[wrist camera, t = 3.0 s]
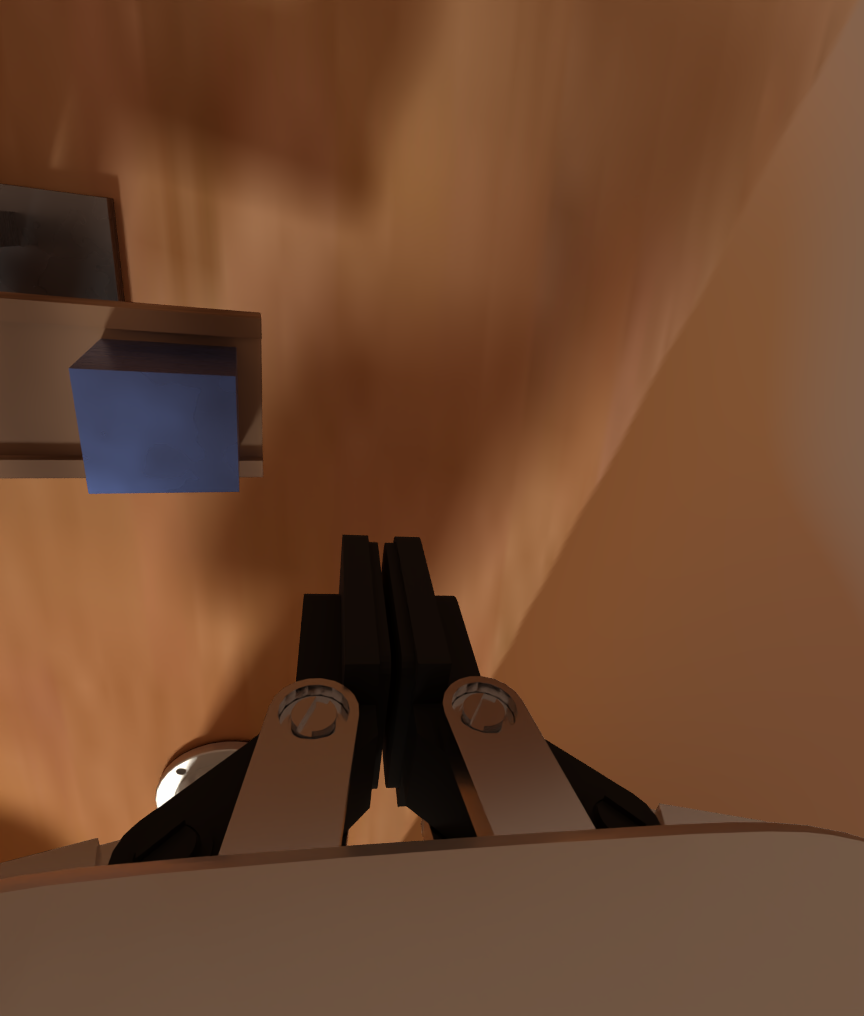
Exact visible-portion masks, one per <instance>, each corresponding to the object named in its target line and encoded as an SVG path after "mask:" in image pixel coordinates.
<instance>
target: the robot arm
mask: <svg viewBox="0 0 864 1016" xmlns="http://www.w3.org/2000/svg"><path fill="white" fill-rule="evenodd" d="M382 751H383V763H384V775H385V785H386V788H396V794H397V804H398V807H400V806H407V807H408V808H409V809H411V810H412V811H413V812H415V813H416V814H417V815H418V816H420V817H421V818H422V821H421V829H422V836H423V839H424V841H411V842H396V843H381V844H367V845H353V846H347V842H348V832H349V829H350V827H351V826H352V825H353V824H354V823H355V822H356V821H357V820H358V819H359V818H360V817H361V816H362V815H363V814H364V813H365V812H366V811H367V810H368V809H369V808H370V800H371V791H372V789H377V787H378V780H379V771H380V763H381V755H382ZM155 800H156V806H157V809H156V810H154V811H153V812H151V813H150V814H149V815H147V816H146V817H145V818H143V819H142V820H140V821H139V822H138V823H137V824H136V825H135V826H133V827H132V828H131V829H130V830H129V831H128V832H127V833H126V834H125V835H124V836H123V837H122V839H121V840H118V841H114V842H111V843H107V844H103V845H99V841H98V838H95V839H91V840H88V841H84V842H80V843H76V844H72V845H68V846H65V847H61V848H57V849H53V850H49V851H45V852H42V853H38V854H34V855H30V856H26V857H22V858H18V859H15V860H11V861H7V862H3V863H0V1016H864V838H861V837H858V836H854V835H851V834H848V833H844V832H839V831H834V830H829V829H823V828H818V827H813V826H808V825H797V824H784V823H772V822H765V821H759V820H754V819H748V818H742V817H736V816H730V815H724V814H718V813H712V812H707V811H700V810H694V809H689V808H683V807H677V806H670V805H664V804H659V805H658V807H657V809H656V810H652V809H650V808H649V807H648V806H647V804H646V803H644V802H643V801H642V800H640V799H639V798H638V797H637V796H635V795H634V794H633V793H631V792H629V791H628V790H626V789H624V788H623V787H621V786H619V785H618V784H616V783H615V782H613V781H612V780H610V779H608V778H606V777H605V776H604V775H602V774H600V773H599V772H597V771H595V770H594V769H592V768H591V767H589V766H587V765H586V764H584V763H583V762H581V761H579V760H578V759H576V758H574V757H573V756H571V755H570V754H568V753H566V752H564V751H563V750H562V749H560V748H558V747H557V746H555V745H553V744H552V743H550V742H549V741H547V740H545V739H544V737H543V736H542V734H541V732H540V730H539V729H538V727H537V725H536V723H535V722H534V720H533V718H532V716H531V715H530V713H529V711H528V709H527V708H526V706H525V704H524V702H523V701H522V699H521V698H520V697H519V695H518V694H517V693H516V692H515V691H514V690H513V689H511V688H510V687H509V686H507V685H506V684H504V683H502V682H500V681H498V680H496V679H492V678H488V677H483V676H480V673H479V670H478V666H477V663H476V660H475V657H474V653H473V650H472V647H471V644H470V641H469V637H468V634H467V631H466V628H465V624H464V621H463V618H462V615H461V611H460V608H459V605H458V602H457V599H456V597H454V596H435V595H434V591H433V587H432V583H431V579H430V575H429V571H428V567H427V563H426V559H425V555H424V551H423V547H422V543H421V540H420V538H419V537H394V541H393V543H385V544H384V552H383V562H382V572H381V567H380V558H379V550H378V543H377V542H369V541H368V536H364V535H343V537H342V551H341V568H340V585H339V594H304V599H303V610H302V621H301V632H300V644H299V655H298V666H297V677H296V682H294V683H292V684H290V685H289V686H287V687H285V688H283V689H282V690H281V691H280V692H279V693H278V694H277V695H276V696H275V697H274V699H273V700H272V702H271V704H270V706H269V708H268V711H267V714H266V717H265V720H264V723H263V726H262V729H261V731H260V734H259V735H258V736H256V737H255V738H253V739H252V740H251V741H249V742H239V741H234V742H219V743H212V744H208V745H204V746H201V747H197V748H195V749H193V750H190V751H188V752H186V753H184V754H182V755H181V756H180V757H178V758H177V759H175V760H174V761H173V762H172V763H171V764H170V765H169V766H168V767H167V768H166V769H165V771H164V772H163V774H162V776H161V777H160V781H159V784H158V787H157V789H156V797H155Z"/></svg>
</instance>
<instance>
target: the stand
mask: <svg viewBox="0 0 864 1016" xmlns="http://www.w3.org/2000/svg"><path fill="white" fill-rule="evenodd" d="M0 292H12V293H25V294H37V295H49V296H61V297H73V298H86V299H98V300H110V301H122V302H125V301H124V292H123V283H122V274H121V265H120V256H119V247H118V238H117V229H116V220H115V211H114V202H113V199H111V198H104V197H96V196H89V195H81V194H74V193H66V192H59V191H51V190H44V189H36V188H29V187H21V186H14V185H6V184H0Z"/></svg>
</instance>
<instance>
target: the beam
mask: <svg viewBox="0 0 864 1016" xmlns="http://www.w3.org/2000/svg"><path fill="white" fill-rule="evenodd" d="M100 339H116V340H132V341H148V342H164V343H179V344H195V345H211V346H227V347H237V378H238V411H239V445H240V452H239V477H263V455H262V364H261V339H262V333H261V314H260V313H257V312H244V311H232V310H220V309H208V308H195V307H183V306H171V305H159V304H147V303H134V302H122V301H110V300H98V299H86V298H73V297H61V296H49V295H37V294H25V293H12V292H0V478H86V474H85V468H84V461H83V455H82V449H81V443H80V437H79V430H78V424H77V418H76V412H75V405H74V399H73V393H72V387H71V381H70V374H69V367H70V366H72V365H73V364H74V363H75V362H76V361H77V360H78V359H79V358H80V357H81V356H82V355H83V354H85V353H86V352H87V351H88V350H89V349H90V348H91V347H92V346H93V345H94V344H95V343H96V342H97V341H99V340H100Z"/></svg>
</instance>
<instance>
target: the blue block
mask: <svg viewBox="0 0 864 1016" xmlns="http://www.w3.org/2000/svg"><path fill="white" fill-rule="evenodd" d="M69 374H70V381H71V387H72V393H73V399H74V405H75V412H76V418H77V424H78V430H79V437H80V443H81V449H82V455H83V461H84V468H85V474H86V480H87V486H88V492H89V494H98V493H178V492H239V452H240V445H239V411H238V378H237V347H227V346H211V345H195V344H179V343H164V342H148V341H132V340H116V339H100V340H99V341H97V342H96V343H95V344H94V345H93V346H92V347H91V348H90V349H89V350H88V351H87V352H86V353H85V354H83V355H82V356H81V357H80V358H79V359H78V360H77V361H76V362H75V363H74V364H73V365H72V366H70V367H69Z"/></svg>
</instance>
